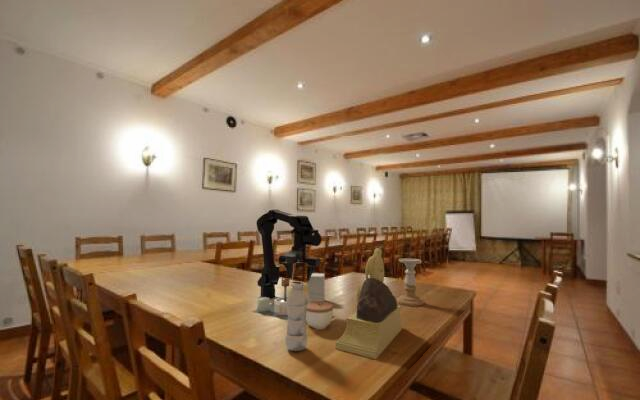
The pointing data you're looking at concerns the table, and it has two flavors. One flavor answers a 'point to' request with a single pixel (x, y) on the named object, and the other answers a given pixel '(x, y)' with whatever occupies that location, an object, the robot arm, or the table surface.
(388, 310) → the statue with dark rock
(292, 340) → the plastic bottle
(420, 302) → the candle holder
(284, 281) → the coffee tamper
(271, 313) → the slate tray
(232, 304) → the table surface
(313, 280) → the supplement box
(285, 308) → the octagonal white frame
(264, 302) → the sage green dome
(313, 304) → the lidded jar
